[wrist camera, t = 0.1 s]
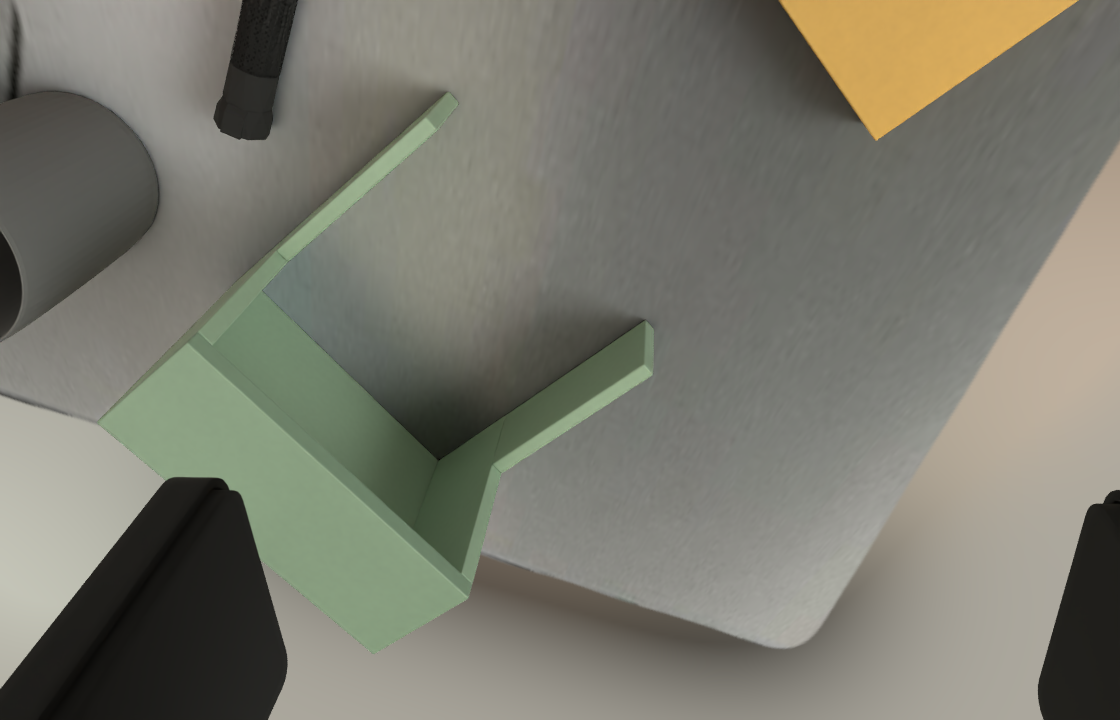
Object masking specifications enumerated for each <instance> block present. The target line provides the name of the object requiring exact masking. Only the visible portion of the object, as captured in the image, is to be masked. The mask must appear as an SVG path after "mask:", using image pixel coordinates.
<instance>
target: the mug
mask: <svg viewBox="0 0 1120 720" xmlns="http://www.w3.org/2000/svg"><path fill="white" fill-rule="evenodd" d="M157 204H158V183H157V177H156V173H155V170H154V167H153V164H152V161H151V159H150V157H149V155H148V153H147V151H146V149H145V147H144V146H143V144H142V143H141V141H140V140H139V138H138V137H137V136H136V135H135V133H134V132H133V131H132V130H131V129H130V128H129V126H128V125H127V124H125V123H124V122H123V121H122V120H121V119H120V118H119V117H118V116H116V115H115V114H114V113H112V112H111V111H110V110H108V109H107V108H105V107H103V106H102V105H100V104H98V103H96V102H94V101H92V100H90V99H87V98H84V97H81V96H78V95H74V94H70V93H65V92H41V93H35V94H30V95H26V96H22V97H19V98H16V99H13V100H9V101H7V102H4V103H1V104H0V342H2V341H3V340H5V339H7V338H9V337H10V336H12V335H14V334H15V333H17V332H18V331H20V330H21V329H23V328H24V327H26V326H27V325H29V324H30V323H32V322H33V321H34V320H36V319H37V318H39V317H40V316H41V315H43V314H44V313H46V312H47V311H49V310H50V309H51V308H53V307H54V306H55V305H57V304H58V303H60V302H61V301H62V300H64V299H65V298H66V297H68V296H69V295H70V294H72V293H73V292H74V291H76V290H77V289H79V288H80V287H81V286H83V285H84V284H85V283H86V282H88V281H89V280H90V279H92V278H93V277H94V276H96V275H97V274H98V273H100V272H101V271H102V270H104V269H105V268H106V267H107V266H109V265H110V264H111V263H113V262H114V261H115V260H116V259H118V258H119V257H120V256H121V255H123V254H124V253H125V252H126V251H128V250H129V249H130V248H131V247H132V246H133V245H135V244H136V243H137V242H138V241H139V240H140V239H141V237H142V236H143V235H144V234H145V233H146V232H147V230H148V229H149V227H150V225H151V224H152V222H153V219H154V217H155V213H156V210H157Z"/></svg>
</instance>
